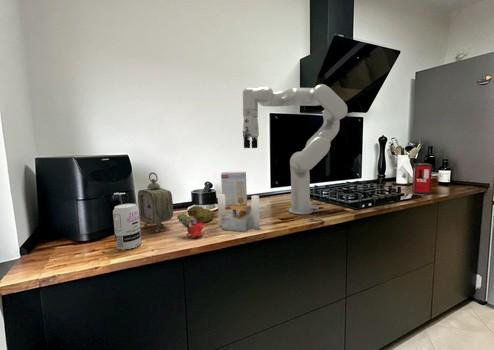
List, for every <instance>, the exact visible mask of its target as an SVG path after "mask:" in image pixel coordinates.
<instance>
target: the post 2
mask: <svg viewBox="0 0 494 350" xmlns="http://www.w3.org/2000/svg"><path fill="white" fill-rule="evenodd" d="M251 209H252V227H251V228H252V230H254V231H255V230H260V229H261V226H260V225H261V224H260V222H261V220H260V195H251Z"/></svg>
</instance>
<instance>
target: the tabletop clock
mask: <svg viewBox="0 0 494 350" xmlns="http://www.w3.org/2000/svg"><path fill="white" fill-rule="evenodd" d="M152 175H154V176H155V177H156V179H155V178H152V179H151V176H152ZM148 179H149V181H150V182H151V183H149V184H148V185H147V189H140V190H138V191H137V193H138V194H137V207H138V208H139V217H140V221H142V222H143V223H145V224H144V225H143V228H144V229H146V228H148V227H149V225H150V226H151V225H152V226H153V225H157V226H156V229H155V232H156V234H157V233H160V231H161V230H160V228H163V227H164V224H163V222H167V221H170V220H171V219H172V218H173V217H174V203H173V195H172V191H170V190H168V189H166V188H163V187H161V186H160V184H159V183H157V181H158V179H159V178H158V175H157V173H155V172H150V173H149V174H148Z"/></svg>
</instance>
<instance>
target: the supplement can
mask: <svg viewBox="0 0 494 350" xmlns="http://www.w3.org/2000/svg"><path fill="white" fill-rule="evenodd" d="M112 218H113V227H114V238H115V247H116V249H118V250H119V249H122V250H121V251H124V250H123V249H131V248H134V249H136V248H138V247H140V245H141V244H142V233H141V232H142V231H141V219H140V215H139V208H138V204H136V203H123V204H118V205H116V206H114V208H113V210H112ZM137 246H138V247H137ZM135 247H136V248H135ZM131 250H132V249H131Z"/></svg>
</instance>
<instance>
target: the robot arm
mask: <svg viewBox="0 0 494 350" xmlns="http://www.w3.org/2000/svg"><path fill="white" fill-rule="evenodd" d="M259 105H260V106H263V107H274V108H275V107H276V108H277V107H289V106H302V107H303V106H304V107H305V106H307V107H309V106H312V107H313V106H314V107H316V106H321V107H322V108H323V109H324V110H323V112H322V118H323V123H322V126H321V127H319V129H318V130H317V131H316V132H315V133H314V134H313V135H312V136H311V137H310V138H309V139H308V140H307V141H306V144H305V147H304V148H303V149H302V150H301V151H296V152H294V153H293V154H292V155H291V157H290V159H289V165H290V166H289V167H290V168H289V169H290V195H291V196H290V200H291V202H290V203H291V206H290V207H289V208H288V210H287V211H288V213H290V214H294V215H310V214H312V213H313V212H314V210H316V211H317V210H318V211H319V205H316V204H312V202H311V201H310V200H311V197H310V195H311V193H310V192H311V188H310V183H311V179H310V178H311V177H310V170H312V169H313V168H314V167H315V166H316V165H317V164H318V163H319V162H320V161H321V160H322V159H323V158H324V157H325V156H326V155H327V154H328V153H329V151H330V148H331V142H332V140H333V139H334V138H336V136H337V134H338V133H339V131H340V123H341V121H340V120H342V119H344V118H345V117H346V115H347V113H348V106H347V104H346V102H345V101H344V100H343V99H342V98H341V97H340V96H339V95H338V94H337V93H336V92H335V91H334V90H332V88H331V87H329V86H327V85H326V84H323V83H321V84H317V85H315V87H292V88H289V89H286V90H282V91H277V92H274V91H273V89H272V88H271V87H269V86H261V87H257V88H256V87H255V88H254V87H248V88H244V89H243V90H242V118H243V124H242V126H243V130H242V136H243V137H242V139H243V148H244V149H258V137H259V136H260V135H259V134H260V131H259V130H260V129H259V120H258V119H259V118H258V117H259Z"/></svg>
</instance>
